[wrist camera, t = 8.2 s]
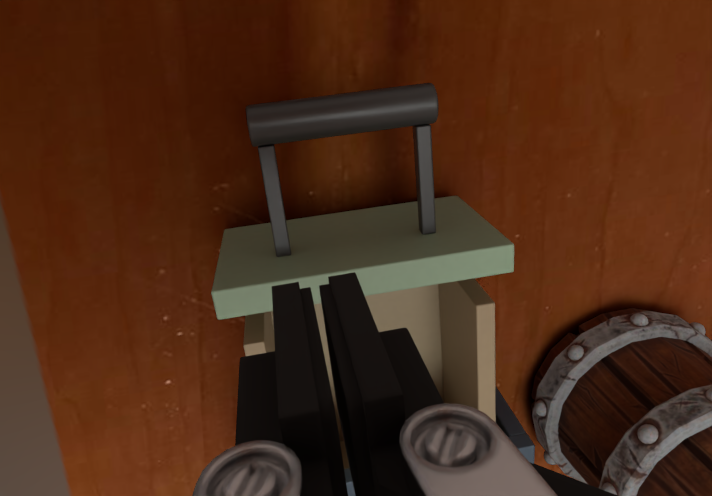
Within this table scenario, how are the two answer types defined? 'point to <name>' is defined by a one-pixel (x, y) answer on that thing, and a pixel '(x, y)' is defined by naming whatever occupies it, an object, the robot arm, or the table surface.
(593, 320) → the mug
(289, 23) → the table surface
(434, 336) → the drawer
